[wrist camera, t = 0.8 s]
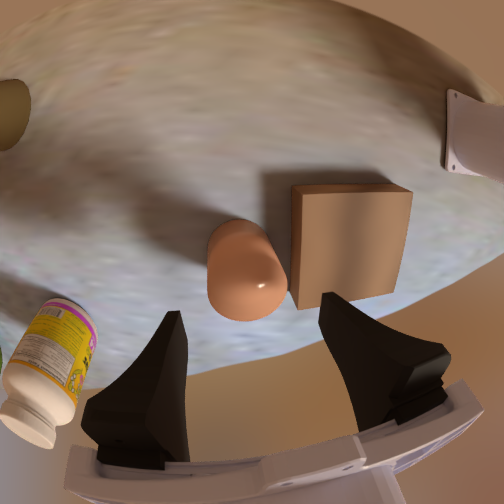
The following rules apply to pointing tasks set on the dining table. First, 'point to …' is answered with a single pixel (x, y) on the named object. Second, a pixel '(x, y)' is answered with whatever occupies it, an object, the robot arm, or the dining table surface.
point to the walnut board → (346, 240)
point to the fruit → (0, 360)
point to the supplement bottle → (48, 371)
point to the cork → (13, 111)
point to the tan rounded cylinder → (243, 272)
